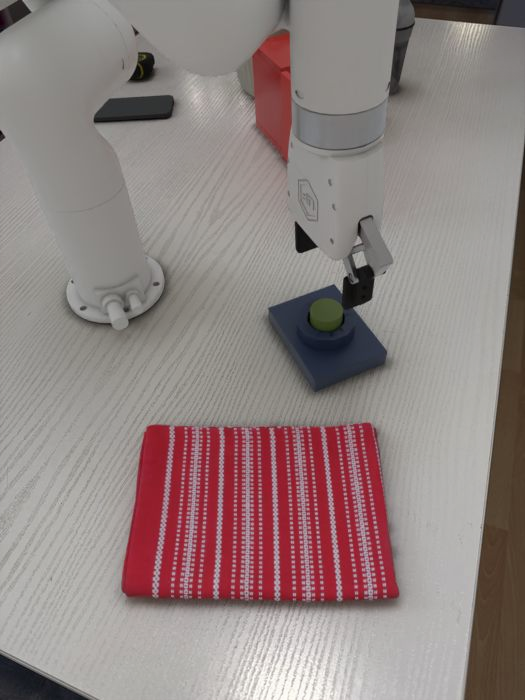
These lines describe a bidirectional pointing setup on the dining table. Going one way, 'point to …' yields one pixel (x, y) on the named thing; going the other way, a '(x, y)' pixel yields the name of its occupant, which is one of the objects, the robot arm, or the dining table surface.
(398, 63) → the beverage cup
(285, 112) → the door
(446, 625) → the dining table surface
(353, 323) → the panel
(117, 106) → the phone
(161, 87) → the dining table surface
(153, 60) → the tape measure
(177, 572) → the dish towel
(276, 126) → the cabinet
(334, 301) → the button
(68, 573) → the dining table surface
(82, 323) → the dining table surface
